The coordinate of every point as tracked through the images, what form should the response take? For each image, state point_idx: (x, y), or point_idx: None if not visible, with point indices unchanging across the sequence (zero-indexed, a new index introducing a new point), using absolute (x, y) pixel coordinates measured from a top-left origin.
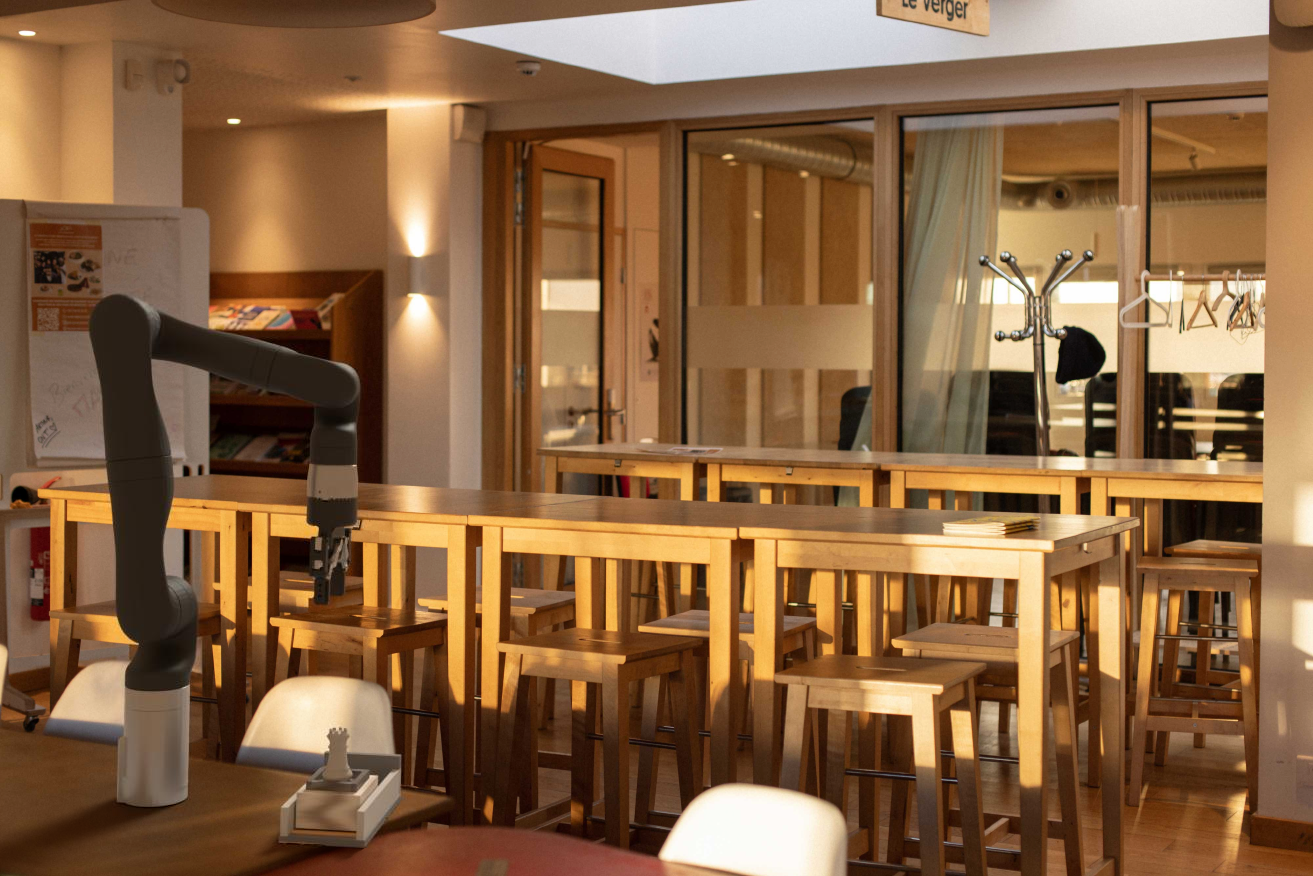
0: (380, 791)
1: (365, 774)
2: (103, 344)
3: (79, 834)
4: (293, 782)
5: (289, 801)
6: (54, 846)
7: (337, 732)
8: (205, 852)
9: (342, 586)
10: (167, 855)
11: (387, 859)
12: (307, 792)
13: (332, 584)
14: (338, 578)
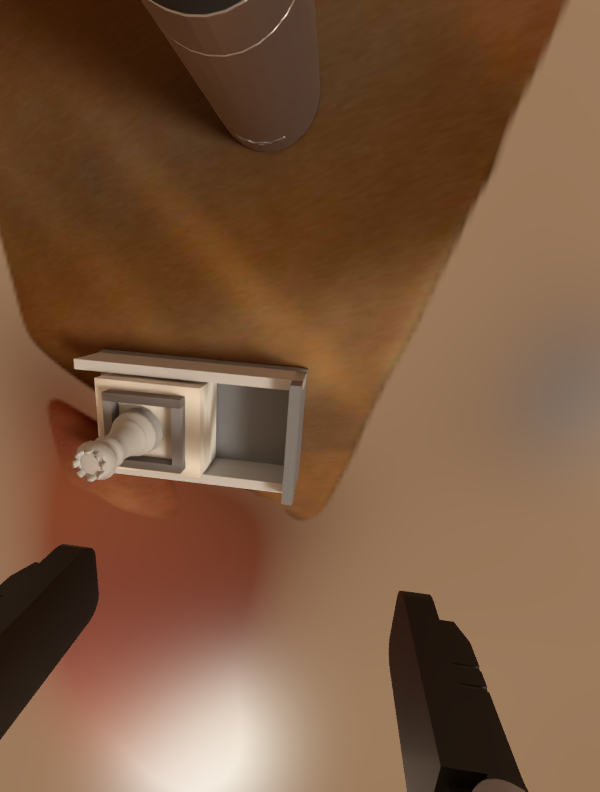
0: (172, 479)
1: (155, 470)
2: None
3: (77, 35)
4: (377, 308)
5: (101, 365)
6: (20, 19)
7: (72, 466)
8: (52, 264)
9: (397, 705)
10: (30, 215)
11: (82, 478)
12: (97, 393)
13: (413, 660)
14: (415, 749)
